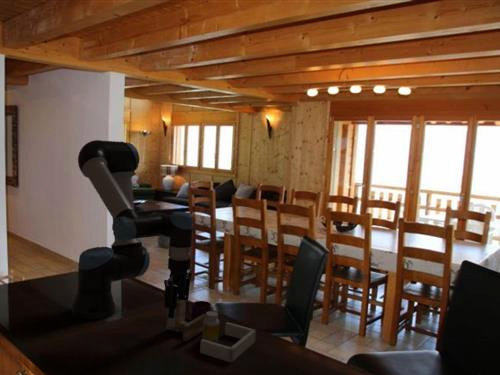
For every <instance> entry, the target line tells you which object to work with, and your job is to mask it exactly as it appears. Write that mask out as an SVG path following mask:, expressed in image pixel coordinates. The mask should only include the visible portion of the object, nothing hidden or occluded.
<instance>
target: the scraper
mask: <svg viewBox="0 0 500 375" xmlns="http://www.w3.org/2000/svg"><path fill="white" fill-rule="evenodd" d="M186 302H187V301H185V300H181V299H178V298H177V301H176V307H175V308H177V315H176V327H175V328H174V327H170V326H168V314H169V313H168V312H169V309H168V308H166V309H167V310H166V326H165V328H166V330H170V331H173V332H176V333H183V334H182V341H183V342H188V341H190V340H191V339H193V338H194V337H196V336H198V335H199V334H200V333H202V331H203V321H204V319H205V318H206V315H205V314H203V315H201V316H199V317H197V318H196V319H194V320H192V319H191V321H188V322H187V321H185V320H186V305H187V304H186Z"/></svg>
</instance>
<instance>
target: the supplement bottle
mask: <svg viewBox="0 0 500 375" xmlns="http://www.w3.org/2000/svg"><path fill="white" fill-rule="evenodd" d="M218 317H219V313H218V312H217V311H209V312H207V313H206V318H205V319H204V321H203V331H202V332H201V340H202V339H204V340H208V341H211V342H214V343H218V342H219V333H220V320H219V318H218Z"/></svg>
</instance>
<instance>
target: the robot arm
mask: <svg viewBox="0 0 500 375" xmlns="http://www.w3.org/2000/svg"><path fill="white" fill-rule="evenodd" d="M77 163H78V164H77V165H78V167H79V170H80V172H81V173H82V176H84V177H85V178H87V179H89V181H90V183H91V184H92V186H93V188H94V189H95V191H96V193H97V195H98V196H99V197H100V199H101V201H102V203H103V204H104V206H105V208H106V209H107V211H108V212H109V214H110V216H111V217H112V225H111V227H112V228H111V229H112V233H113V234H112V235H113V237H114V241H113V243H112V244H111V245H110V247H108V246H96V247H91V248H88V249H85V250H83V251H82V252H81V253H80V255H79V259H78V264H77V265H78V266H77V267H78V269H77V270H78V271H77V272H78V276H77V277H78V278H77V293H76V295H75V298H74V301H73V304H72V305H71V315H72V316H73V317H74V318H76V319H80V320H87V321H90V320H91V321H93V320H102V319H105V318H108V317H112V316H113V315H114V313H115V312H116V304H115V302H114V297H113V293H112V282H118V281H124V280H128V279H135V278H137V277H141V276H143V275H145V274H146V272H147V270H148V269H149V266H150V263H151V257H150V252H149V251H148V248H147V247H145V246H143V241H141V240H140V239H143V238H153V237H166V238H169V243H168V257H169V258H168V261H167V262H168V263H167V268H168V270H169V271H170V272H169V276H168V278H167V279H164V280H163V284H164V308H166V309H167V308H168V309H169V312H168V313H169V314H168V326H170V327H174V328H175V327H176V315H177V308H175V307H176V301H177V299H181V300H185V301H186V305H187V303H188V302H189V297H190V289H191V287H190V286H191V279H192V275H193V273H192V272H189V271H190V270H191V261H192V260H191V257H192V256H191V255H192V245H193V244H192V243H193V232H194V215H193V214H192V213H191V212H186V211H185V212H184V211H173V212H171V215H170V214H167V213H164V212H157V211H156V212H152V213H151V214H148V215H147V214H146V215H145V214H144V215H139V214H138V213H137V211H136V210H135V202H134V201H135V200H134V190H133V182H132V178H133V177H134V176H135V174H136V172H135V171H137V170H138V168H139V164H140V155H139V151H138V149H137V148H136V146H134V144H132V143H130V142H125V141H121V140H120V141H114V140H102V139H101V140H100V139H95V140H91V141H88V142H87V143H86V144H84V145H83V146H82V147H81V149H80V151H79V153H78V155H77Z"/></svg>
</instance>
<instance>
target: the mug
mask: <svg viewBox="0 0 500 375" xmlns="http://www.w3.org/2000/svg"><path fill="white" fill-rule="evenodd" d="M189 305H192V308H191V309H192V311H191V312H190V311H189ZM211 310H212V304H211V303H210V302H209V301H208V300H207V301H205V300H197V301H194V302H192V301H187V304H186V307H185V312H186V313H187V314H188V316H189V317H191V321H192V320H194V319H196V318H197V317H199V316H201V315H203V314H205V315H206V313H207V312H209V311H211Z"/></svg>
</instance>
